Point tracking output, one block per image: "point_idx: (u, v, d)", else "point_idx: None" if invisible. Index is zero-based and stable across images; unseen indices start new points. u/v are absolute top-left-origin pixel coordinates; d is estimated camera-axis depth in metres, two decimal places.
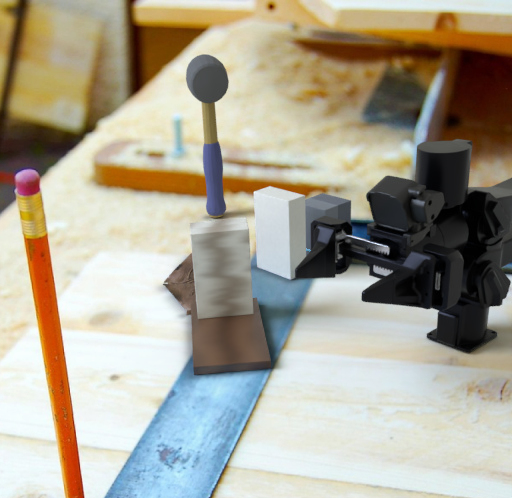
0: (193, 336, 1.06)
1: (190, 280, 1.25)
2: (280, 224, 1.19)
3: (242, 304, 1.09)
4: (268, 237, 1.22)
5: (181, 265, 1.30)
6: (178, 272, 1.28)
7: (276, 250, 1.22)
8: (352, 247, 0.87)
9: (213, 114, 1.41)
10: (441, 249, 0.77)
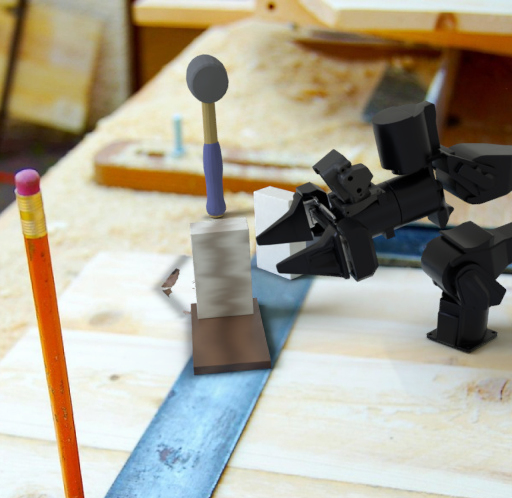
0: (193, 336, 1.06)
1: None
2: None
3: (242, 304, 1.09)
4: None
5: (177, 269, 1.31)
6: (175, 277, 1.28)
7: (276, 250, 1.22)
8: (321, 213, 0.94)
9: (213, 114, 1.41)
10: (349, 225, 0.82)
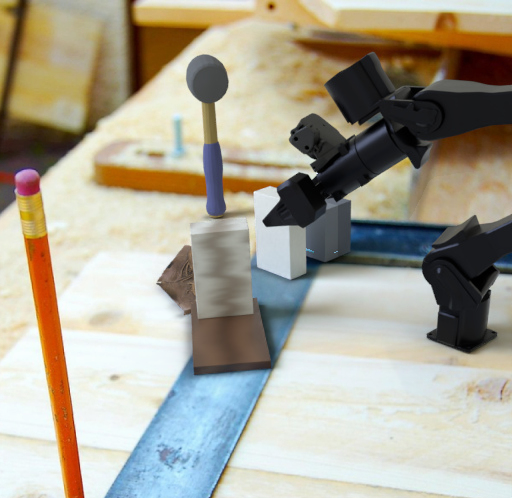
0: (193, 336, 1.06)
1: (183, 279, 1.25)
2: None
3: (242, 304, 1.09)
4: (268, 237, 1.22)
5: (172, 263, 1.30)
6: (171, 271, 1.28)
7: (276, 250, 1.22)
8: None
9: (213, 114, 1.41)
10: None
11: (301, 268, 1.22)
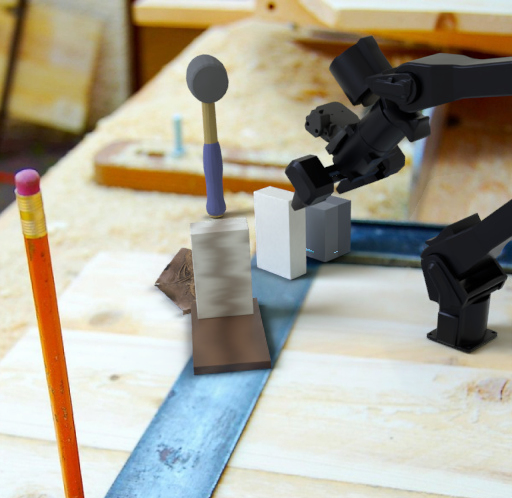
0: (193, 336, 1.06)
1: (181, 280, 1.25)
2: (280, 224, 1.19)
3: (242, 304, 1.09)
4: (268, 237, 1.22)
5: (170, 265, 1.30)
6: (168, 272, 1.28)
7: (276, 250, 1.22)
8: None
9: (213, 114, 1.41)
10: None
11: (301, 268, 1.22)
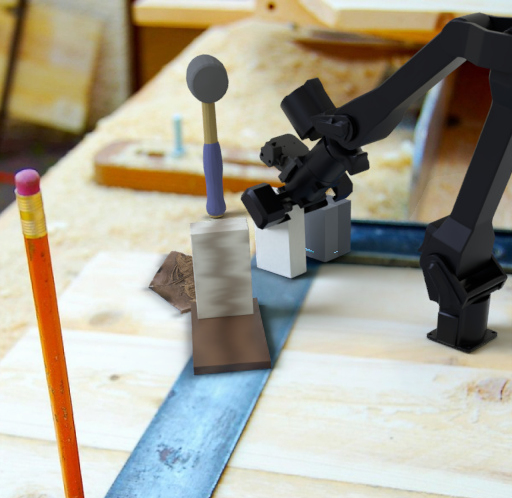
0: (193, 336, 1.06)
1: (175, 282, 1.25)
2: None
3: (242, 304, 1.09)
4: (268, 236, 1.23)
5: (162, 268, 1.31)
6: (161, 275, 1.28)
7: (276, 249, 1.22)
8: None
9: (213, 114, 1.41)
10: None
11: (301, 266, 1.22)
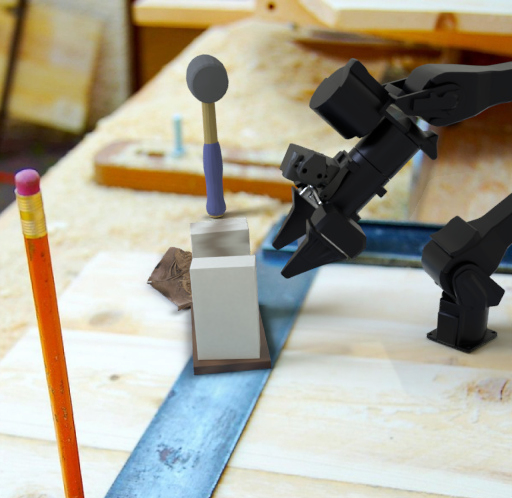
0: (193, 336, 1.06)
1: (173, 277, 1.26)
2: (240, 297, 0.95)
3: None
4: (219, 317, 0.97)
5: (160, 263, 1.31)
6: (159, 270, 1.29)
7: (234, 330, 0.97)
8: None
9: (213, 114, 1.41)
10: (319, 215, 0.84)
11: None
